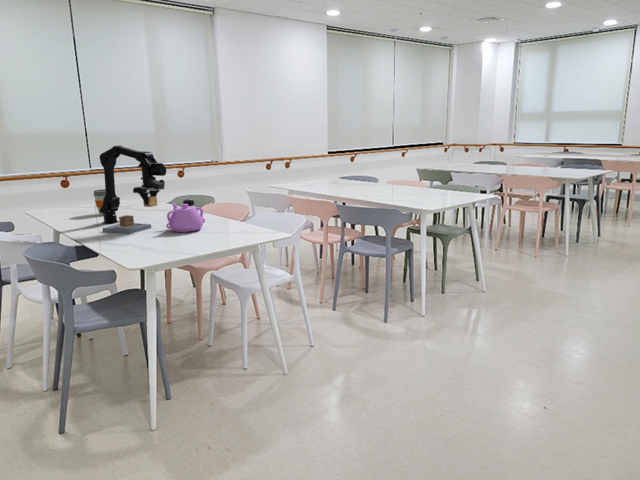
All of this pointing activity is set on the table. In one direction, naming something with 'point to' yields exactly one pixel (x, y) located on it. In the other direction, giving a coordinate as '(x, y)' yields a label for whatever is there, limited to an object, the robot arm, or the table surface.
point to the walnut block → (126, 221)
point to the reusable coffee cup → (99, 198)
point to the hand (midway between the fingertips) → (150, 204)
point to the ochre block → (151, 201)
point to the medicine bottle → (189, 203)
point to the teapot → (185, 218)
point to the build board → (127, 228)
